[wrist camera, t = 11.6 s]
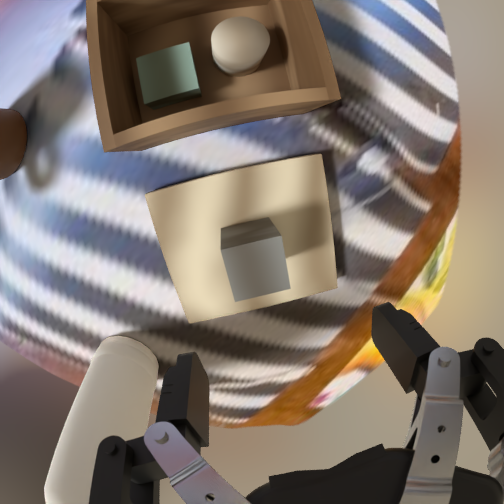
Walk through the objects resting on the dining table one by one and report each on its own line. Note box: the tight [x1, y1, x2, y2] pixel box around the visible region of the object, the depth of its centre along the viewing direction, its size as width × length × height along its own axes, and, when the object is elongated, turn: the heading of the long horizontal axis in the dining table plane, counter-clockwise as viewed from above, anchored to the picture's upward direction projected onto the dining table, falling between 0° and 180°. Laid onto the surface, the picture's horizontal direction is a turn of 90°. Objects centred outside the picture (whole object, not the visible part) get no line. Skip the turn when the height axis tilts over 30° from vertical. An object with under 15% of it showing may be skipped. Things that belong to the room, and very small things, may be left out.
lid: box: [145, 154, 337, 324], centre depth 21 cm, size 15×13×7 cm
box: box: [86, 0, 341, 152], centre depth 15 cm, size 14×12×8 cm
